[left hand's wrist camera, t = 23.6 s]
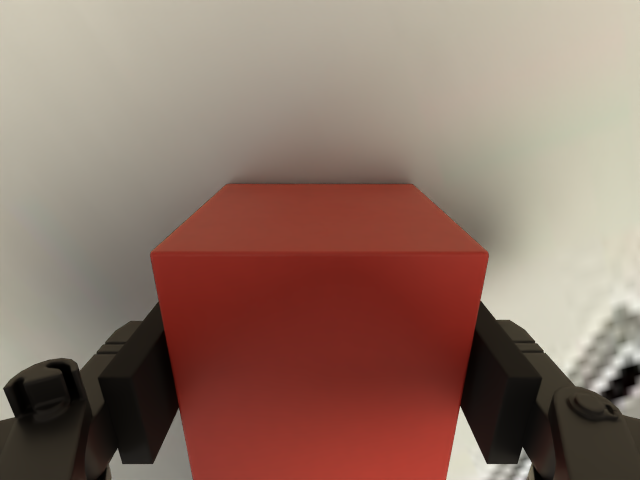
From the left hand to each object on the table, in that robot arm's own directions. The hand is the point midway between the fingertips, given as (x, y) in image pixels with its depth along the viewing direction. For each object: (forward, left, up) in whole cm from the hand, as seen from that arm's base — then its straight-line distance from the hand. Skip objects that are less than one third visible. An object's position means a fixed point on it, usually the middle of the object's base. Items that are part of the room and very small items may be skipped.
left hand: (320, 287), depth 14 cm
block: (0, 0, -2) cm, 2 cm away
